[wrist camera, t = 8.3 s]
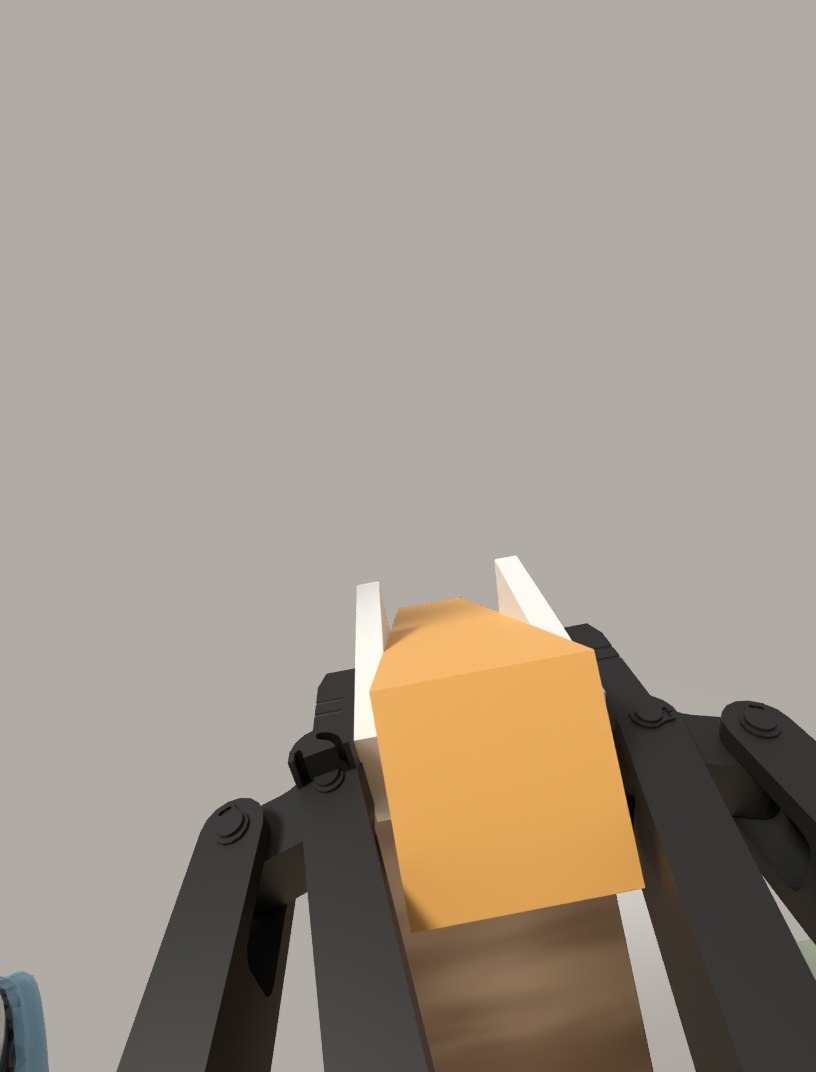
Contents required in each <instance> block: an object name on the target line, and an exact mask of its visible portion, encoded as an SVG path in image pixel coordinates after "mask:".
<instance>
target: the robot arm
mask: <svg viewBox="0 0 816 1072" xmlns="http://www.w3.org/2000/svg"><path fill="white" fill-rule="evenodd" d="M495 570H496V580H497V590H498V601H499V612H500V613H501V614H504V615H506V616H509V617H511V618H514V619H516V620H519V621H521V622H524V623H526V624H529V625H533V626H535V627H538V628H540V629H543V630H545V631H548V632H551V633H553V634H556V635H558V636H561V637H563V638H566V639H568V640H571V641H574V642H576V643H579V644H581V645H584V646H586V647H589V648H591V649H594V651H595V656H596V661H597V665H598V670H599V675H600V679H601V684H602V689H603V693H604V698H605V703H606V707H607V712H608V717H609V721H610V726H611V731H612V735H613V740H614V745H615V749H616V754H617V759H618V763H619V768H620V773H621V777H622V782H623V787H624V791H625V796H626V801H627V805H628V810H629V815H630V819H631V824H632V829H633V833H634V838H635V842H636V847H637V852H638V856H639V861H640V866H641V870H642V875H643V880H644V884H645V888H643V889H642V891H643V895H644V898H645V901H646V905H647V908H648V911H649V914H650V918H651V921H652V925H653V928H654V932H655V935H656V938H657V941H658V945H659V948H660V952H661V955H662V959H663V962H664V965H665V969H666V972H667V975H668V979H669V982H670V986H671V989H672V992H673V996H674V999H675V1003H676V1006H677V1009H678V1013H679V1016H680V1019H681V1023H682V1026H683V1029H684V1033H685V1036H686V1040H687V1043H688V1046H689V1050H690V1053H691V1056H692V1060H693V1063H694V1066H695V1070H696V1072H816V980H815V978H814V976H813V974H812V972H811V970H810V968H809V966H808V964H807V962H806V960H805V958H804V956H803V954H802V953H801V951H800V949H799V947H798V945H797V943H796V941H795V939H794V937H793V935H792V933H791V931H790V929H789V927H788V925H787V923H786V921H785V920H784V917H783V915H782V914H781V912H780V910H779V908H778V906H777V904H776V902H775V900H774V898H773V896H772V894H771V892H770V890H769V888H768V886H767V884H766V882H765V880H764V878H765V879H766V881H767V882H768V883H769V884H770V886H771V887H772V889H773V890H774V891H775V893H776V894H777V895H778V896H779V898H780V899H781V900H782V902H783V903H784V904H785V906H786V907H787V908H788V910H789V911H790V912H791V914H792V915H793V916H794V918H795V919H796V920H797V922H798V923H799V924H800V926H801V927H802V928H803V929H804V931H805V932H806V933H807V935H808V936H809V937H810V939H811V940H812V941H813V943H814V944H815V945H816V741H815V740H814V739H813V738H812V737H811V736H809V735H808V734H807V733H806V732H805V731H804V730H803V729H801V728H800V727H799V726H798V725H797V724H796V723H795V722H794V721H792V720H791V719H790V718H789V717H787V716H786V715H785V714H783V713H782V712H780V711H779V710H777V709H775V708H773V707H770V706H768V705H765V704H763V703H758V702H753V701H736V702H733V703H731V704H729V705H727V706H726V707H725V708H724V710H723V711H722V715H721V717H711V716H699V715H689V714H683V713H679V712H677V711H676V710H675V709H674V707H673V706H671V705H669V704H668V703H667V702H665V701H664V700H661V699H658V698H656V697H653V696H651V695H649V693H648V692H647V691H646V689H645V688H644V687H643V685H642V684H641V683H640V681H639V680H638V679H637V678H636V676H635V675H634V674H633V672H632V671H631V670H630V668H629V667H628V666H627V665H626V663H625V662H624V661H623V660H622V658H620V657H619V654H618V653H617V652H616V650H615V649H614V648H612V646H611V644H610V642H609V641H608V640H607V638H606V637H605V636H604V635H603V633H602V632H600V631H598V630H597V629H595V628H593V627H592V626H590V625H589V624H581V625H576V626H570V627H565V628H563V626H562V625H561V623H560V622H559V620H558V619H557V617H556V615H555V614H554V612H553V611H552V609H551V608H550V606H549V605H548V603H547V602H546V600H545V599H544V597H543V596H542V594H541V593H540V591H539V590H538V588H537V586H536V585H535V584H534V582H533V580H532V579H531V577H530V576H529V574H528V573H527V571H526V570H525V568H524V567H523V565H522V564H521V562H520V560H519V559H518V558H517V556H511V557H506V558H500V559H496V560H495ZM389 635H390V630H389V626H388V621H387V617H386V613H385V608H384V604H383V599H382V594H381V590H380V585H379V581H378V582H372V583H367V584H362V585H357V601H356V654H355V669H350V670H344V671H339V672H334V673H328V674H326V676H325V677H324V679H323V681H322V682H321V684H320V685H319V687H318V693H317V701H316V703H317V705H316V709H315V719H314V727H313V731H312V732H310V733H308V734H306V735H304V736H303V737H302V738H301V739H300V740H298V741H297V742H296V743H295V745H294V746H293V748H292V750H291V751H290V753H289V759H288V765H289V768H290V770H291V773H292V775H293V778H294V781H295V783H296V785H295V786H294V787H293V788H292V789H291V790H290V791H288V792H286V793H285V794H283V795H281V796H280V797H277V798H276V799H273V800H272V801H269V802H267V803H266V804H263V805H262V806H260V804H259V803H258V802H256V801H255V800H253V799H251V798H239V799H236V800H233V801H230V802H228V803H226V804H224V805H223V806H221V807H220V808H218V809H217V810H216V811H215V812H214V813H213V814H212V815H211V816H210V817H209V818H208V820H207V821H206V823H205V825H204V827H203V829H202V830H201V832H200V835H199V838H198V841H197V843H196V846H195V849H194V852H193V855H192V858H191V861H190V863H189V866H188V869H187V872H186V875H185V878H184V880H183V883H182V886H181V889H180V892H179V895H178V898H177V900H176V903H175V906H174V909H173V912H172V915H171V917H170V920H169V923H168V926H167V929H166V932H165V935H164V937H163V940H162V943H161V946H160V949H159V952H158V955H157V958H156V961H155V963H154V966H153V969H152V972H151V975H150V977H149V980H148V983H147V986H146V989H145V992H144V995H143V998H142V1000H141V1003H140V1006H139V1009H138V1012H137V1015H136V1017H135V1021H134V1023H133V1026H132V1029H131V1032H130V1035H129V1037H128V1040H127V1043H126V1046H125V1049H124V1052H123V1055H122V1058H121V1060H120V1063H119V1066H118V1069H117V1072H270V1071H271V1064H272V1058H273V1051H274V1044H275V1037H276V1030H277V1023H278V1016H279V1009H280V1003H281V996H282V989H283V982H284V975H285V969H286V961H287V954H288V948H289V941H290V935H291V928H292V920H293V914H294V907H295V900H296V898H298V897H299V896H301V895H303V894H305V893H306V892H308V902H309V912H310V923H311V932H312V933H311V934H312V944H313V955H314V965H315V976H316V985H317V997H318V1008H319V1019H320V1029H321V1040H322V1050H323V1061H324V1072H435V1069H434V1065H433V1061H432V1057H431V1053H430V1049H429V1045H428V1041H427V1036H426V1032H425V1028H424V1024H423V1020H422V1016H421V1012H420V1008H419V1004H418V1000H417V996H416V992H415V988H414V983H413V979H412V975H411V971H410V967H409V963H408V959H407V955H406V951H405V947H404V943H403V939H402V935H401V930H400V926H399V922H398V918H397V914H396V910H395V906H394V902H393V898H392V894H391V890H390V886H389V882H388V877H387V873H386V869H385V865H384V861H383V857H382V853H381V849H380V845H379V841H378V837H377V834H376V831H375V814H376V818H377V821H378V822H380V821H385V820H390V819H391V816H390V810H389V804H388V798H387V792H386V787H385V781H384V775H383V769H382V763H381V758H380V752H379V746H378V740H377V734H376V729H375V723H374V717H373V711H372V705H371V700H370V694H369V691H370V688H371V685H372V682H373V679H374V677H375V674H376V671H377V668H378V665H379V662H380V660H381V657H382V654H383V652H384V649H385V646H386V644H387V641H388V638H389ZM762 875H763V876H762ZM763 877H764V878H763ZM0 1072H49V1067H48V1051H47V1040H46V1030H45V1022H44V1015H43V1008H42V1001H41V997H40V992H39V988H38V985H37V982H36V981H35V979H34V977H33V976H32V975H30V974H28V973H25V972H23V971H22V972H17V973H13V974H11V975H9V976H7V977H0Z"/></svg>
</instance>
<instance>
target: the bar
mask: <svg viewBox="0 0 816 1072" xmlns="http://www.w3.org/2000/svg"><path fill="white" fill-rule="evenodd" d="M369 694H370V700H371V705H372V711H373V717H374V723H375V729H376V734H377V740H378V746H379V752H380V758H381V763H382V769H383V775H384V781H385V787H386V792H387V798H388V804H389V810H390V816H391V821H392V827H393V833H394V839H395V845H396V850H397V856H398V862H399V868H400V874H401V879H402V885H403V891H404V897H405V903H406V908H407V914H408V920H409V926H410V932H411V933H416V932H421V931H426V930H432V929H437V928H442V927H447V926H452V925H457V924H462V923H468V922H473V921H478V920H483V919H488V918H493V917H499V916H504V915H509V914H514V913H519V912H524V911H529V910H535V909H540V908H545V907H550V906H555V905H560V904H566V903H571V902H576V901H581V900H586V899H591V898H597V897H602V896H607V895H612V894H617V893H622V892H627V891H632V890H638V889H643V888H645V884H644V880H643V875H642V870H641V866H640V861H639V856H638V852H637V847H636V842H635V838H634V833H633V829H632V824H631V819H630V815H629V810H628V805H627V801H626V796H625V791H624V787H623V782H622V777H621V773H620V768H619V763H618V759H617V754H616V749H615V745H614V740H613V735H612V731H611V726H610V721H609V717H608V712H607V707H606V703H605V698H604V693H603V689H602V684H601V679H600V675H599V670H598V665H597V661H596V656H595V651H594V649H591V648H589V647H586V646H584V645H581V644H579V643H576V642H574V641H571V640H568V639H566V638H563V637H561V636H558V635H556V634H553V633H551V632H548V631H545V630H543V629H540V628H538V627H535V626H533V625H529V624H526V623H524V622H521V621H519V620H516V619H514V618H511V617H509V616H506V615H504V614H501V613H500V612H497V611H494V610H492V609H489V608H487V607H484V606H482V605H479V604H476V603H474V602H471V601H469V600H466V599H463V598H461V597H459V598H453V599H448V600H442V601H437V602H432V603H426V604H421V605H415V606H410V607H405V608H399V609H398V612H397V615H396V617H395V620H394V623H393V626H392V629H391V632H390V635H389V638H388V641H387V644H386V646H385V649H384V652H383V654H382V657H381V660H380V662H379V665H378V668H377V671H376V674H375V677H374V679H373V682H372V685H371V688H370V691H369Z"/></svg>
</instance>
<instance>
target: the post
mask: <svg viewBox="0 0 816 1072" xmlns="http://www.w3.org/2000/svg"><path fill="white" fill-rule="evenodd" d="M375 831H376V834H377V837H378V841H379V845H380V849H381V853H382V857H383V861H384V865H385V869H386V873H387V877H388V882H389V886H390V890H391V894H392V898H393V902H394V906H395V910H396V914H397V918H398V922H399V926H400V930H401V935H402V939H403V943H404V947H405V951H406V955H407V959H408V963H409V967H410V971H411V975H412V979H413V983H414V988H415V992H416V996H417V1000H418V1004H419V1008H420V1012H421V1016H422V1020H423V1024H424V1028H425V1032H426V1036H427V1041H428V1045H429V1049H430V1053H431V1057H432V1061H433V1065H434V1069H435V1072H653V1067H652V1062H651V1058H650V1053H649V1048H648V1043H647V1039H646V1034H645V1029H644V1024H643V1020H642V1015H641V1010H640V1005H639V1001H638V996H637V992H636V986H635V982H634V977H633V972H632V967H631V963H630V958H629V954H628V949H627V944H626V939H625V934H624V929H623V925H622V920H621V915H620V911H619V906H618V901H617V896H616V894H612V895H607V896H602V897H597V898H591V899H586V900H581V901H576V902H571V903H566V904H560V905H555V906H550V907H545V908H540V909H535V910H529V911H524V912H519V913H514V914H509V915H504V916H499V917H493V918H488V919H483V920H478V921H473V922H468V923H462V924H457V925H452V926H447V927H442V928H437V929H432V930H426V931H421V932H416V933H411V932H410V926H409V920H408V914H407V908H406V903H405V897H404V891H403V885H402V879H401V874H400V868H399V862H398V856H397V850H396V845H395V839H394V833H393V827H392V821H391V819H390V820H385V821H380V822H378V821H377V818H376V814H375Z"/></svg>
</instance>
